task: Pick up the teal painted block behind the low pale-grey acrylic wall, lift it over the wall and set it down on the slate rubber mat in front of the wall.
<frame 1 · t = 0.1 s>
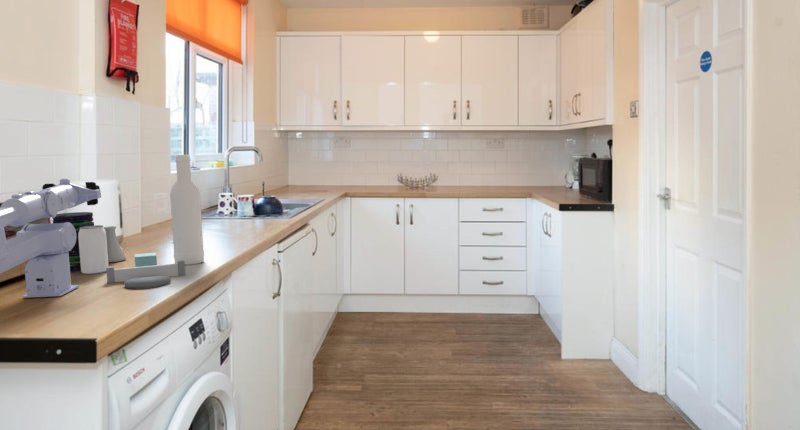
hand: (82, 190, 153), 22 cm above the countertop, tool horizontal, fingers open, 7 cm apart
block: (146, 274, 155), on the countertop
acrylic wall: (147, 278, 148), on the countertop
flask: (112, 261, 175), on the countertop
bottle: (189, 263, 169), on the countertop
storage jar: (77, 269, 164), on the countertop
can: (95, 272, 159), on the countertop
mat: (147, 283, 142), on the countertop
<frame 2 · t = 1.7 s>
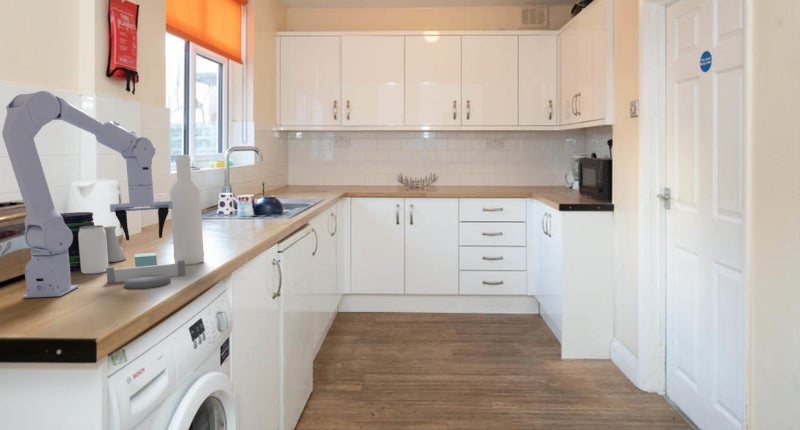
hand: (144, 238, 154), 9 cm above the countertop, tool pointing down, fingers open, 7 cm apart
nothing on the countertop moved.
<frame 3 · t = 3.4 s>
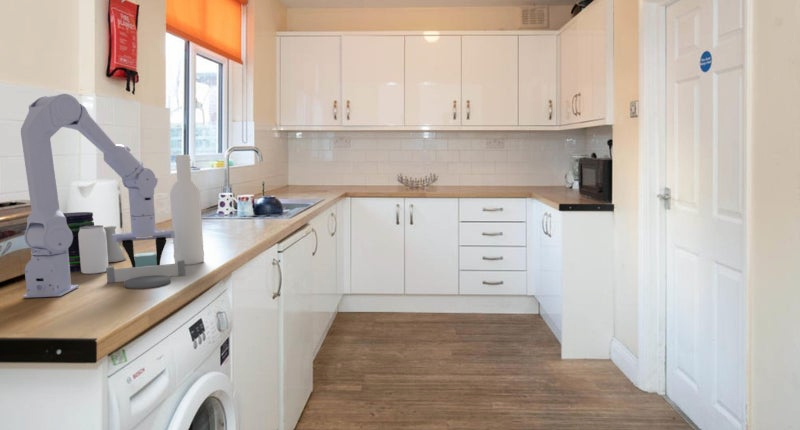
hand: (146, 268, 154), 1 cm above the countertop, tool pointing down, fingers closed on block, 5 cm apart
block: (146, 273, 155), on the countertop, touching gripper
everything else where it was.
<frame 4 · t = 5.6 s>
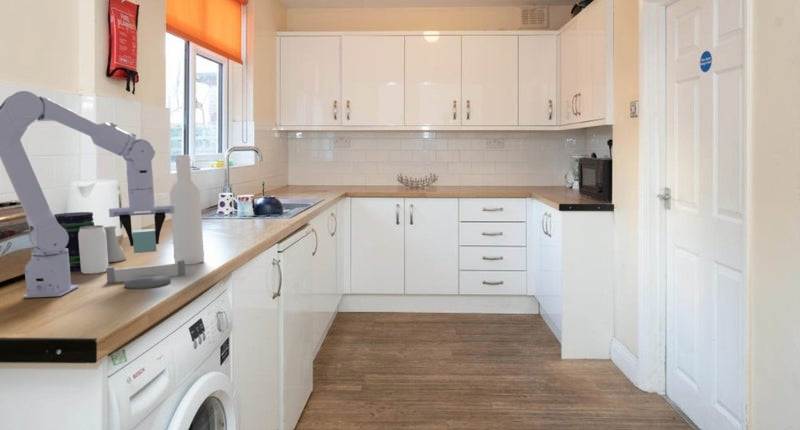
hand: (144, 244, 148), 8 cm above the countertop, tool pointing down, fingers closed on block, 5 cm apart
block: (145, 250, 148), point 7 cm above the countertop, touching gripper
everything else where it was.
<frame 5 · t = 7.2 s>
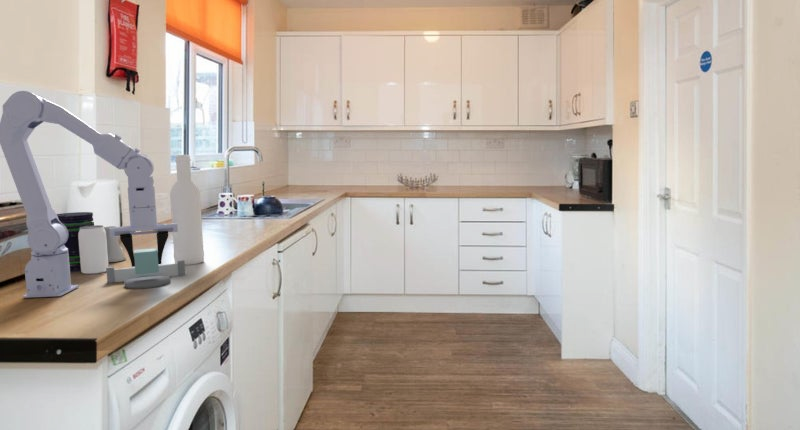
hand: (146, 264, 141), 5 cm above the countertop, tool pointing down, fingers closed on block, 5 cm apart
block: (147, 271, 142), point 3 cm above the countertop, touching gripper
everything else where it was.
when the fingers open (3 cm above the countertop, at t = 8.3 s): block stays where it is, resting on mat.
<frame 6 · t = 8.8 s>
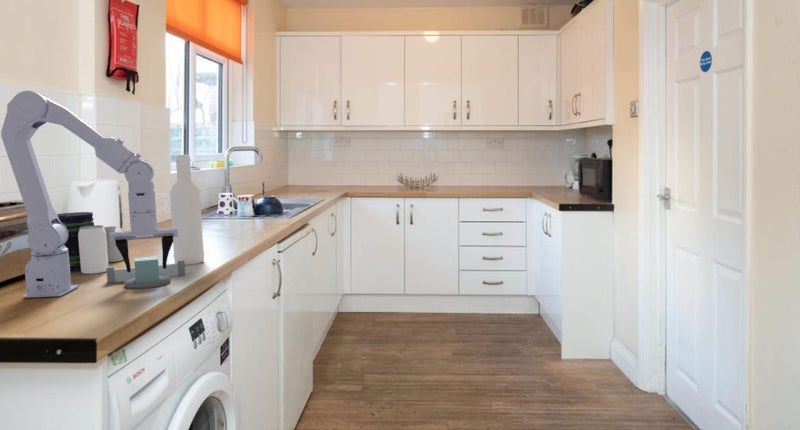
hand: (146, 269, 142), 3 cm above the countertop, tool pointing down, fingers open, 7 cm apart
block: (147, 279, 142), point 1 cm above the countertop, touching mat
everything else where it was.
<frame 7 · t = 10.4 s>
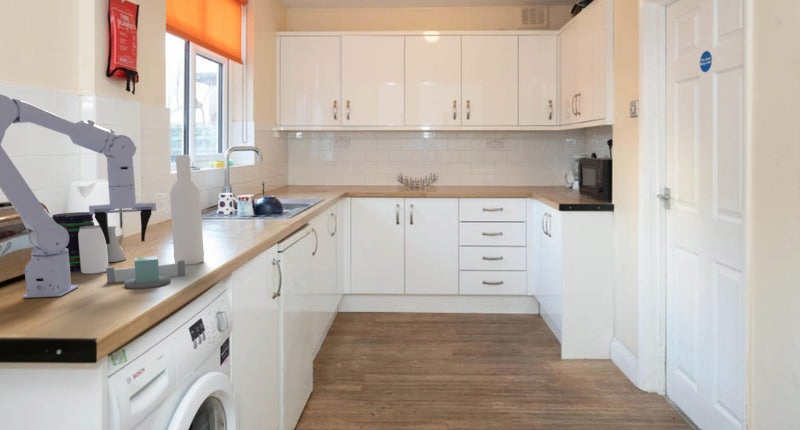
hand: (125, 242, 146), 9 cm above the countertop, tool pointing down, fingers open, 7 cm apart
nothing on the countertop moved.
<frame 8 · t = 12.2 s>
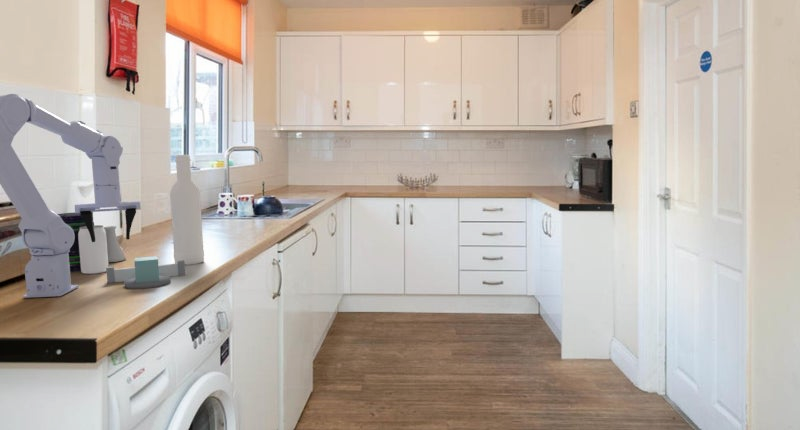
hand: (110, 240, 149), 9 cm above the countertop, tool pointing down, fingers open, 7 cm apart
nothing on the countertop moved.
at the end: block 0.2 cm from the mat (horizontally); block tilted 0°; block touching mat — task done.
